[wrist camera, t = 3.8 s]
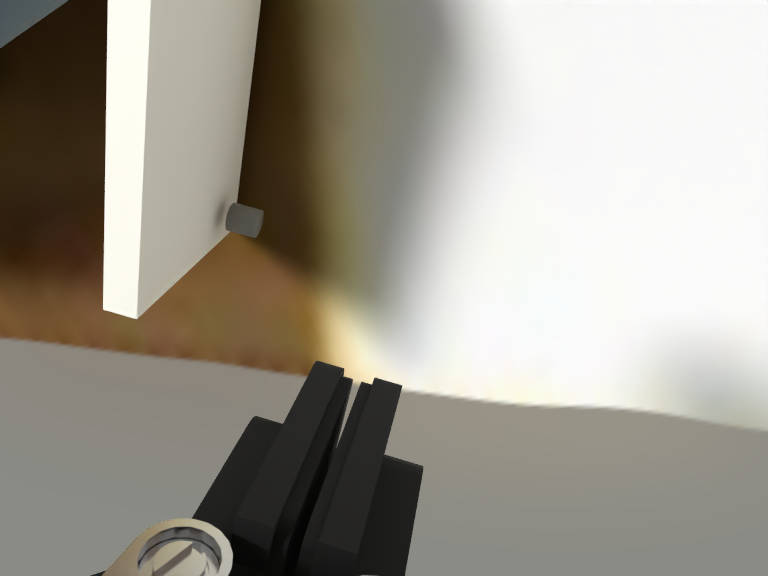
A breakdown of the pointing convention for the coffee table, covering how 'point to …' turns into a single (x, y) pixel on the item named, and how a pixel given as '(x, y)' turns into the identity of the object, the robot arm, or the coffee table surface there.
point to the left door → (173, 140)
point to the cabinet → (23, 16)
